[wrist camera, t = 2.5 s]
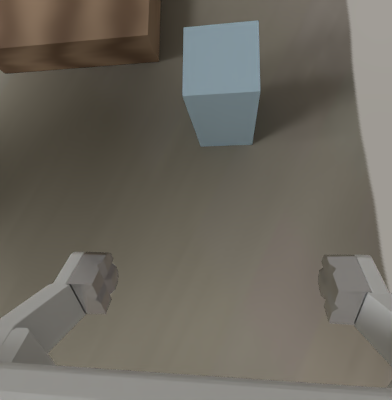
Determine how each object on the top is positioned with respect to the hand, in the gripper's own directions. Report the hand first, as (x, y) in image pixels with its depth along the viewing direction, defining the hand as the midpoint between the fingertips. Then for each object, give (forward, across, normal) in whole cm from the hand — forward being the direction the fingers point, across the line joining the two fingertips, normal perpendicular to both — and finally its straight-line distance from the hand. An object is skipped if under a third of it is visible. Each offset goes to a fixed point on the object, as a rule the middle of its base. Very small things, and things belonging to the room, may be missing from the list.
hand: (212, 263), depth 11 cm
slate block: (+20, 0, +2) cm, 21 cm away
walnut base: (+32, +16, -9) cm, 37 cm away
